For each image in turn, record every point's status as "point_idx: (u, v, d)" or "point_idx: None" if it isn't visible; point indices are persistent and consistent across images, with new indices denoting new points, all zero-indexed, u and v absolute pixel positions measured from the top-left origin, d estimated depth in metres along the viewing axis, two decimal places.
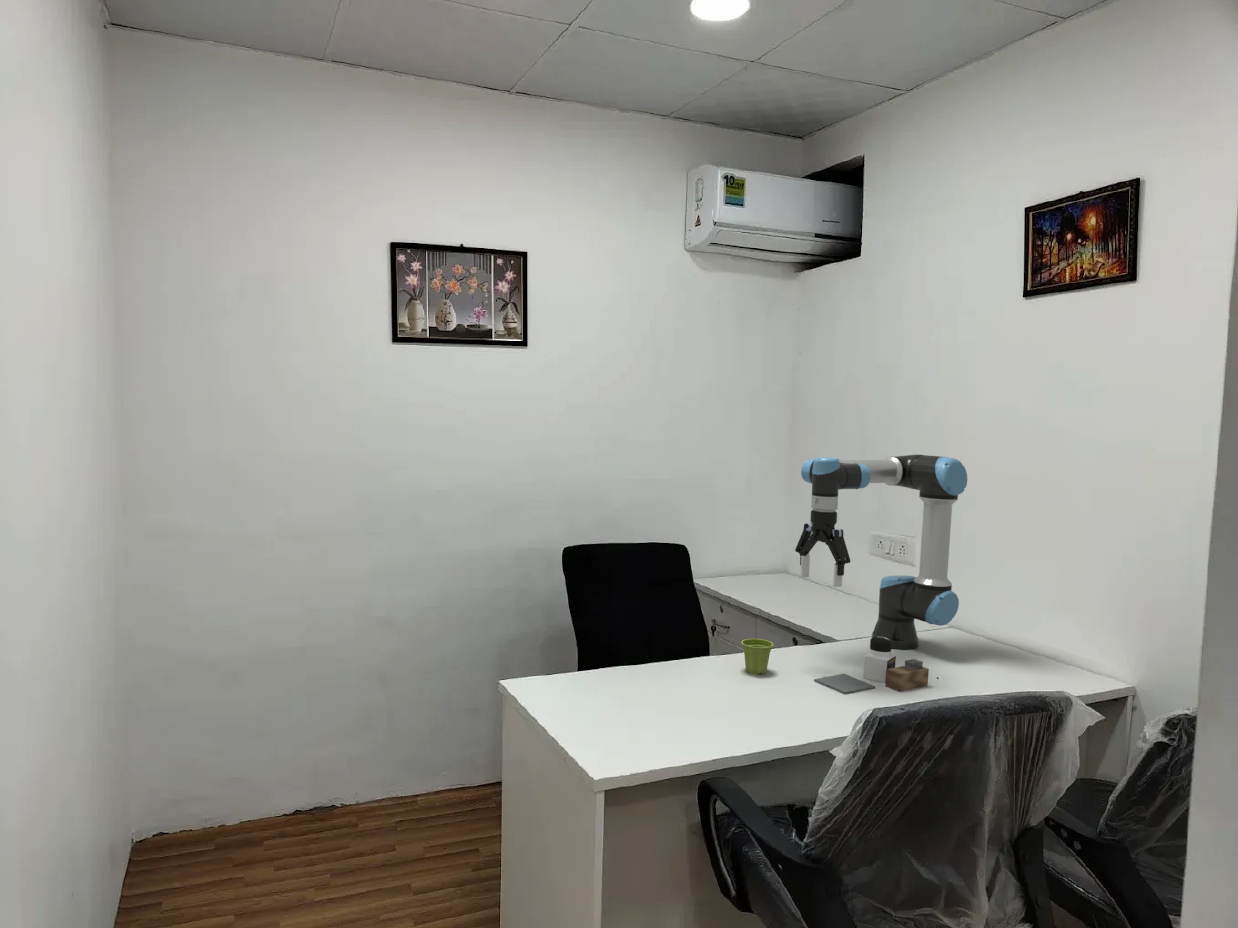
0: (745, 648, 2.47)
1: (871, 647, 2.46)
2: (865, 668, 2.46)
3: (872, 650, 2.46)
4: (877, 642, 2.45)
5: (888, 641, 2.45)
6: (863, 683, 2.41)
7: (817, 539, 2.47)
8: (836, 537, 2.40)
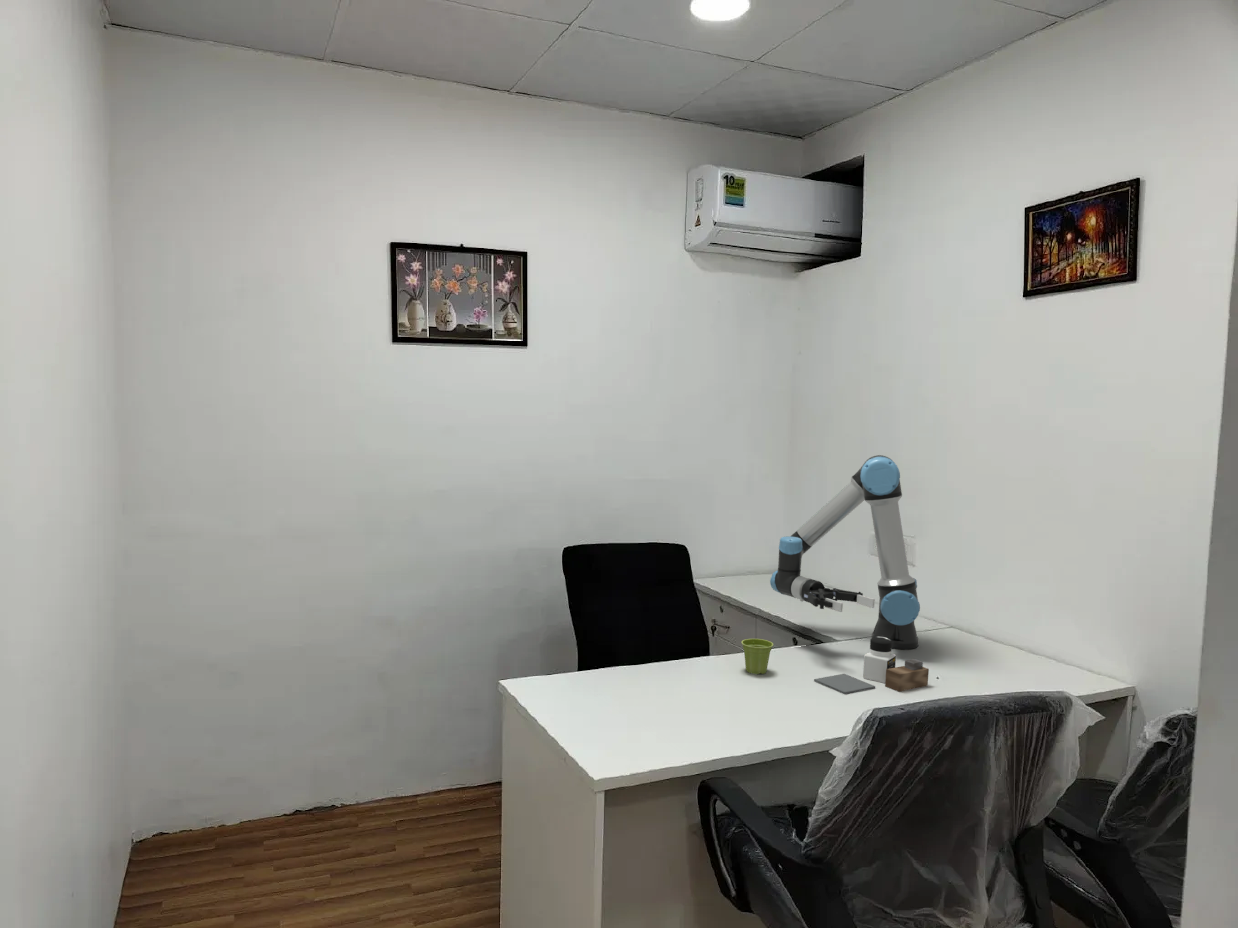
0: (745, 648, 2.47)
1: (871, 647, 2.46)
2: (865, 668, 2.46)
3: (872, 650, 2.46)
4: (877, 642, 2.45)
5: (888, 641, 2.45)
6: (863, 683, 2.41)
7: (830, 599, 2.66)
8: None
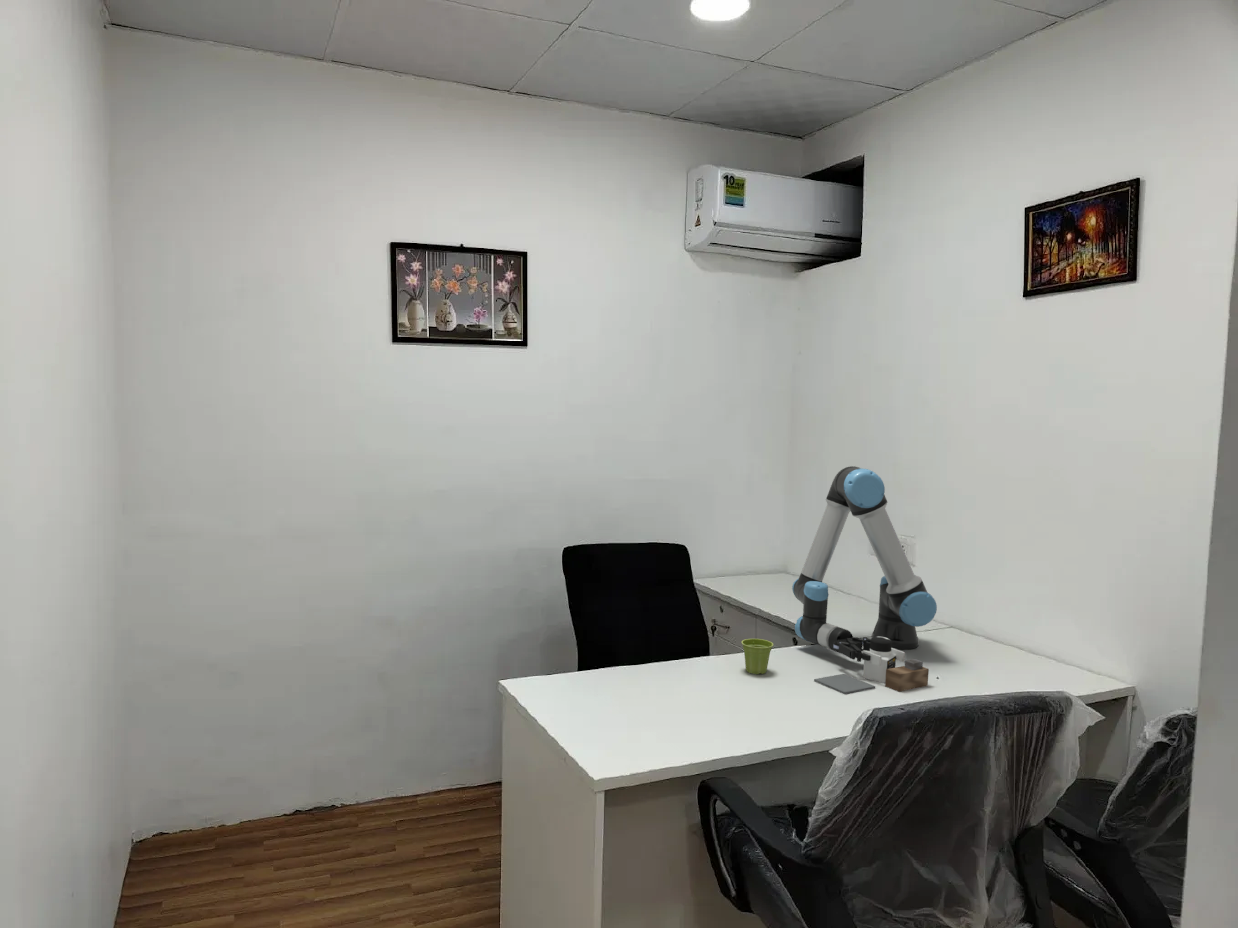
0: (745, 648, 2.47)
1: (871, 647, 2.46)
2: (865, 668, 2.46)
3: (872, 650, 2.46)
4: (877, 642, 2.45)
5: (888, 641, 2.45)
6: (863, 683, 2.41)
7: (859, 649, 2.56)
8: None
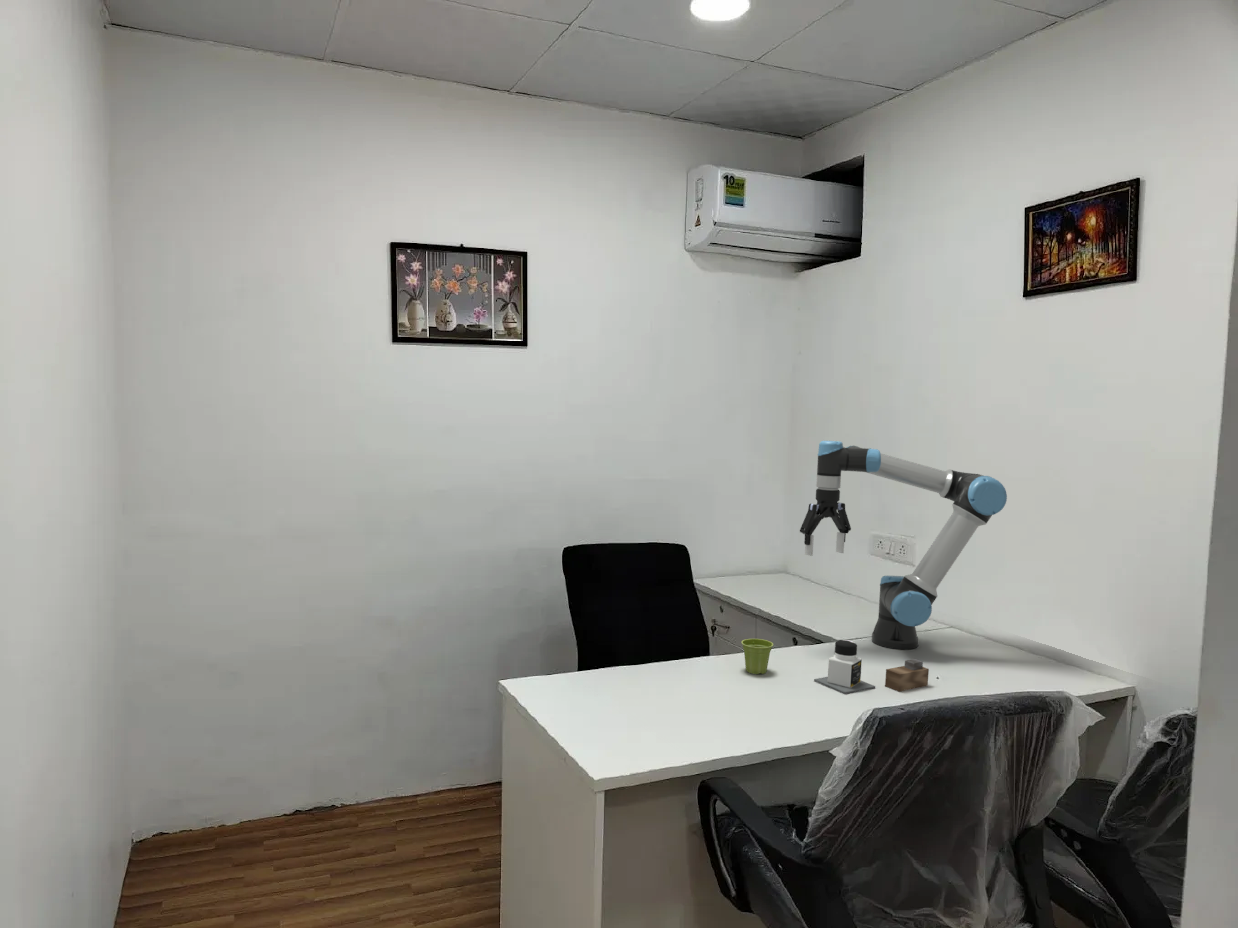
0: (745, 648, 2.47)
1: (836, 650, 2.39)
2: (829, 672, 2.39)
3: (837, 654, 2.39)
4: (842, 645, 2.38)
5: (853, 644, 2.38)
6: (863, 683, 2.41)
7: None
8: None
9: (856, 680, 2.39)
